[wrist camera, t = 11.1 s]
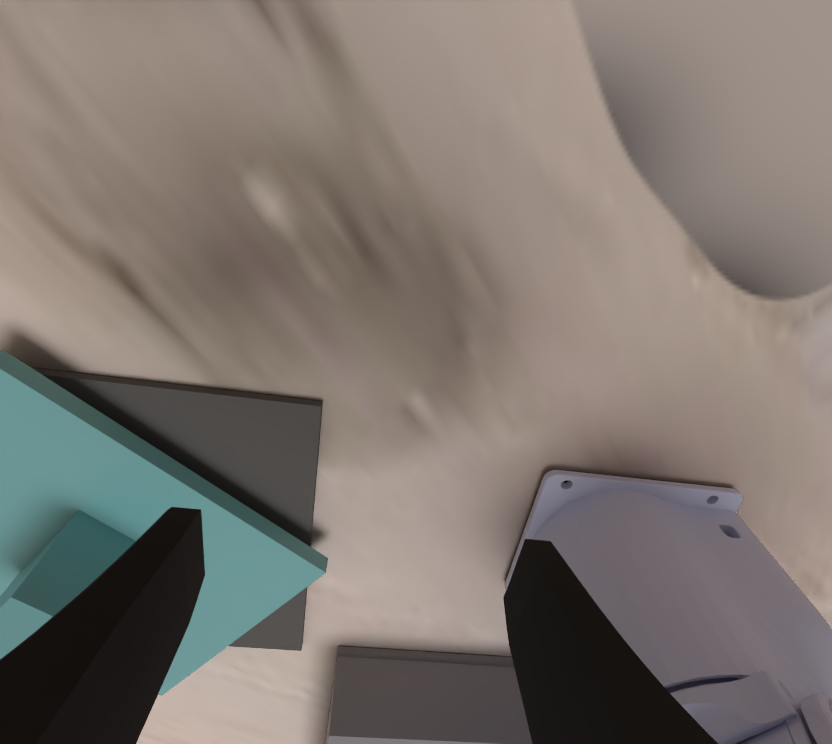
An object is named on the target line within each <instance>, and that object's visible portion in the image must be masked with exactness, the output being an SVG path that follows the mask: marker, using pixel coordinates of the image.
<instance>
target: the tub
mask: <svg viewBox="0 0 832 744" xmlns="http://www.w3.org/2000/svg"><path fill="white" fill-rule="evenodd" d="M325 744H532V740H531V735H530V731H529V727H528V723H527V719H526V714H525V710H524V706H523V702H522V698H521V694H520V689H519V685H518V681H517V677H516V672H515V668H514V664H513V659H512V657H502V656H487V655H471V654H455V653H440V652H424V651H409V650H393V649H377V648H362V647H346V646H338V653H337V660H336V667H335V674H334V681H333V689H332V696H331V703H330V710H329V717H328V725H327V732H326V739H325Z"/></svg>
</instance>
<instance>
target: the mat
mask: <svg viewBox="0 0 832 744" xmlns="http://www.w3.org/2000/svg"><path fill="white" fill-rule="evenodd" d="M32 369H34V370H35V371H37V372H39V373H40V374H42V375H43V376H45V377H46V378H48V379H49V380H51V381H53V382H54V383H56V384H57V385H59V386H60V387H62V388H63V389H65V390H67V391H68V392H70V393H71V394H73V395H74V396H76V397H77V398H79V399H81V400H82V401H84V402H85V403H87V404H88V405H90V406H91V407H93V408H95V409H96V410H98V411H99V412H101V413H102V414H104V415H105V416H107V417H109V418H110V419H112V420H113V421H115V422H116V423H118V424H120V425H121V426H123V427H124V428H126V429H127V430H129V431H130V432H132V433H134V434H135V435H137V436H138V437H140V438H141V439H143V440H144V441H146V442H148V443H149V444H151V445H152V446H154V447H155V448H157V449H158V450H160V451H162V452H163V453H165V454H166V455H168V456H169V457H171V458H172V459H174V460H176V461H177V462H179V463H180V464H182V465H183V466H185V467H187V468H188V469H190V470H191V471H193V472H194V473H196V474H197V475H199V476H201V477H202V478H204V479H205V480H207V481H208V482H210V483H211V484H213V485H215V486H216V487H218V488H219V489H221V490H222V491H224V492H225V493H227V494H229V495H230V496H232V497H233V498H235V499H236V500H238V501H239V502H241V503H243V504H244V505H246V506H247V507H249V508H250V509H252V510H253V511H255V512H257V513H258V514H260V515H261V516H263V517H264V518H266V519H268V520H269V521H271V522H272V523H274V524H275V525H277V526H278V527H280V528H282V529H283V530H285V531H286V532H288V533H289V534H291V535H292V536H294V537H296V538H297V539H299V540H300V541H302V542H303V543H305V544H306V545H308V546H310V547H311V535H312V523H313V511H314V500H315V488H316V476H317V464H318V452H319V440H320V428H321V416H322V404H323V401H316V400H308V399H299V398H290V397H282V396H273V395H264V394H256V393H247V392H239V391H230V390H221V389H213V388H204V387H195V386H187V385H178V384H169V383H161V382H152V381H144V380H135V379H126V378H118V377H109V376H100V375H92V374H83V373H74V372H66V371H57V370H49V369H40V368H32ZM306 595H307V587H306V588H305V589H303V590H302V591H301V592H299V593H298V594H297V595H295V596H294V597H293V598H291V599H290V600H289V601H287V602H286V603H285V604H283V605H282V606H281V607H279V608H278V609H277V610H275V611H274V612H273V613H271V614H270V615H269V616H267V617H266V618H265V619H263V620H262V621H261V622H259V623H258V624H257V625H255V626H254V627H253V628H251V629H250V630H249V631H247V632H246V633H245V634H243V635H242V636H241V637H239V638H238V639H237V640H235V641H234V642H233V643H231V644H230V645H229V646H234V647H250V648H266V649H282V650H298V651H301V649H302V643H303V631H304V619H305V607H306Z"/></svg>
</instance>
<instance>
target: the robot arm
mask: <svg viewBox="0 0 832 744" xmlns="http://www.w3.org/2000/svg"><path fill="white" fill-rule="evenodd" d="M566 480H569V481H568V482H567V483H562V482H564V481H566ZM742 500H743V496H742V495H741V494H740V493H739V492H738V491H737V490H736V489H732V488H723V487H714V486H704V485H695V484H685V483H676V482H667V481H657V480H648V479H639V478H629V477H620V476H610V475H601V474H592V473H582V472H573V471H563V470H551V471H549V472H547V473H546V474H545V475H544V477H543V479H542V482H541V484H540V487H539V490H538V493H537V496H536V498H535V501H534V504H533V507H532V510H531V512H530V515H529V518H528V521H527V523H526V526H525V529H524V532H523V535H522V537H521V540H520V543H519V546H518V549H517V551H516V554H515V557H514V560H513V562H512V565H511V568H510V571H509V574H508V576H507V579H506V582H505V588H506V593H505V595H504V606H505V615H506V624H507V632H508V639H509V646H510V651H511V655H512V659H513V664H514V668H515V672H516V677H517V681H518V685H519V689H520V694H521V698H522V702H523V706H524V710H525V714H526V719H527V723H528V727H529V731H530V735H531V740H532V744H832V629H831V628H830V626H829V624H828V623H827V622H826V620H825V619H824V618H823V616H822V615H821V614H820V613H819V611H818V610H817V609H816V608H815V607H814V605H813V604H812V603H811V602H810V601H809V599H808V598H807V597H806V596H805V595H804V593H803V592H802V591H801V590H800V589H799V587H798V586H797V585H796V584H795V583H794V581H793V580H792V579H791V578H790V577H789V575H788V574H787V573H786V572H785V571H784V569H783V568H782V567H781V566H780V565H779V563H778V562H777V561H776V560H775V559H774V557H773V556H772V555H771V554H770V553H769V551H768V550H767V549H766V548H765V547H764V545H763V544H762V543H761V542H760V541H759V539H758V538H757V537H756V536H755V535H754V533H753V532H752V531H751V530H750V529H749V527H748V526H747V525H746V524H745V523H744V521H743V520H742V519H741V518H740V517H739V515H738V514H737V513H736V511H737V509H738V508H739V506H740V505H741V503H742ZM204 577H205V565H204V548H203V530H202V513H201V509H191V508H180V507H171V508H169V509H168V510H167V511H166V512H165V513H164V514H163V515H162V516H161V517H160V518H159V519H158V520H157V521H156V522H155V523H154V524H153V525H152V526H151V527H150V528H149V529H148V530H147V531H146V532H145V533H144V534H143V535H142V536H141V537H140V538H139V539H138V540H137V541H136V542H135V543H134V544H132V545H131V546H130V547H129V548H128V549H127V550H126V551H125V552H124V553H123V554H122V555H121V556H120V557H119V558H118V559H117V560H116V561H115V562H114V563H113V564H112V565H110V566H109V567H108V568H107V569H106V570H105V571H104V572H103V573H102V574H101V575H100V576H98V577H97V578H96V579H95V580H94V581H93V582H92V583H91V584H90V585H89V586H88V587H87V588H85V589H84V590H83V591H82V592H81V593H80V594H79V595H78V596H76V597H75V598H74V599H73V600H72V601H71V602H69V603H68V604H67V605H66V606H65V607H64V608H62V609H61V610H60V611H59V612H58V613H57V614H55V615H54V616H53V617H52V618H51V619H49V620H48V621H47V622H46V623H45V624H44V625H42V626H41V627H40V628H39V629H38V630H37V631H35V632H34V633H33V634H32V635H30V636H29V637H28V638H27V639H25V640H24V641H23V642H22V643H20V644H19V645H18V646H17V647H15V648H14V649H13V650H12V651H10V652H9V653H8V654H7V655H5V656H4V657H3V658H1V659H0V744H136V742H137V740H138V738H139V735H140V733H141V731H142V729H143V726H144V724H145V722H146V720H147V718H148V715H149V713H150V711H151V709H152V706H153V704H154V702H155V700H156V698H157V695H158V693H159V691H160V689H161V686H162V684H163V682H164V680H165V677H166V675H167V673H168V671H169V669H170V666H171V664H172V662H173V660H174V657H175V655H176V653H177V651H178V648H179V646H180V644H181V642H182V639H183V637H184V635H185V632H186V630H187V628H188V625H189V623H190V620H191V617H192V614H193V611H194V608H195V605H196V602H197V599H198V596H199V593H200V589H201V586H202V583H203V580H204Z"/></svg>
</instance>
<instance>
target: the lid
mask: <svg viewBox="0 0 832 744" xmlns="http://www.w3.org/2000/svg"><path fill="white" fill-rule="evenodd" d="M171 507H180V508H191V509H201V513H202V530H203V548H204V565H205V577H204V580H203V583H202V586H201V589H200V593H199V596H198V599H197V602H196V605H195V608H194V611H193V614H192V617H191V620H190V623H189V625H188V628H187V630H186V632H185V635H184V637H183V639H182V642H181V644H180V646H179V648H178V651H177V653H176V655H175V657H174V660H173V662H172V664H171V666H170V669H169V671H168V673H167V675H166V677H165V680H164V682H163V684H162V686H161V689H160V691H159V693H158V694H159V695H161V696H162V695H163V694H164V693H166V692H167V691H168V690H170V689H171V688H172V687H174V686H175V685H177V684H178V683H179V682H181V681H182V680H183V679H185V678H186V677H187V676H189V675H190V674H191V673H193V672H194V671H195V670H197V669H198V668H199V667H201V666H202V665H203V664H205V663H206V662H207V661H209V660H210V659H211V658H213V657H214V656H215V655H217V654H218V653H219V652H221V651H222V650H223V649H225V648H226V647H227V646H229V645H230V644H231V643H233V642H234V641H235V640H237V639H238V638H239V637H241V636H242V635H243V634H245V633H246V632H247V631H249V630H250V629H251V628H253V627H254V626H255V625H257V624H258V623H259V622H261V621H262V620H263V619H265V618H266V617H267V616H269V615H270V614H271V613H273V612H274V611H275V610H277V609H278V608H279V607H281V606H282V605H283V604H285V603H286V602H287V601H289V600H290V599H291V598H293V597H294V596H295V595H297V594H298V593H299V592H301V591H302V590H303V589H305V588H306V587H307V586H309V585H310V584H311V583H313V582H314V581H315V580H317V579H318V578H319V577H321V576H322V575H323V574H325V573H326V568H327V561H328V558H327V557H325V556H324V555H322V554H320V553H319V552H317V551H316V550H314V549H313V548H311V547H310V546H308V545H306V544H305V543H303V542H302V541H300V540H299V539H297V538H296V537H294V536H292V535H291V534H289V533H288V532H286V531H285V530H283V529H282V528H280V527H278V526H277V525H275V524H274V523H272V522H271V521H269V520H268V519H266V518H264V517H263V516H261V515H260V514H258V513H257V512H255V511H253V510H252V509H250V508H249V507H247V506H246V505H244V504H243V503H241V502H239V501H238V500H236V499H235V498H233V497H232V496H230V495H229V494H227V493H225V492H224V491H222V490H221V489H219V488H218V487H216V486H215V485H213V484H211V483H210V482H208V481H207V480H205V479H204V478H202V477H201V476H199V475H197V474H196V473H194V472H193V471H191V470H190V469H188V468H187V467H185V466H183V465H182V464H180V463H179V462H177V461H176V460H174V459H172V458H171V457H169V456H168V455H166V454H165V453H163V452H162V451H160V450H158V449H157V448H155V447H154V446H152V445H151V444H149V443H148V442H146V441H144V440H143V439H141V438H140V437H138V436H137V435H135V434H134V433H132V432H130V431H129V430H127V429H126V428H124V427H123V426H121V425H120V424H118V423H116V422H115V421H113V420H112V419H110V418H109V417H107V416H105V415H104V414H102V413H101V412H99V411H98V410H96V409H95V408H93V407H91V406H90V405H88V404H87V403H85V402H84V401H82V400H81V399H79V398H77V397H76V396H74V395H73V394H71V393H70V392H68V391H67V390H65V389H63V388H62V387H60V386H59V385H57V384H56V383H54V382H53V381H51V380H49V379H48V378H46V377H45V376H43V375H42V374H40V373H39V372H37V371H35V370H34V369H32V368H31V367H29V366H28V365H26V364H24V363H23V362H21V361H20V360H18V359H17V358H15V357H14V356H12V355H10V354H9V353H7V352H6V351H4V350H1V351H0V659H1V658H3V657H4V656H5V655H7V654H8V653H9V652H10V651H12V650H13V649H14V648H15V647H17V646H18V645H19V644H20V643H22V642H23V641H24V640H25V639H27V638H28V637H29V636H30V635H32V634H33V633H34V632H35V631H37V630H38V629H39V628H40V627H41V626H42V625H44V624H45V623H46V622H47V621H48V620H49V619H51V618H52V617H53V616H54V615H55V614H57V613H58V612H59V611H60V610H61V609H62V608H64V607H65V606H66V605H67V604H68V603H69V602H71V601H72V600H73V599H74V598H75V597H76V596H78V595H79V594H80V593H81V592H82V591H83V590H84V589H85V588H87V587H88V586H89V585H90V584H91V583H92V582H93V581H94V580H95V579H96V578H97V577H98V576H100V575H101V574H102V573H103V572H104V571H105V570H106V569H107V568H108V567H109V566H110V565H112V564H113V563H114V562H115V561H116V560H117V559H118V558H119V557H120V556H121V555H122V554H123V553H124V552H125V551H126V550H127V549H128V548H129V547H130V546H131V545H132V544H134V543H135V542H136V541H137V540H138V539H139V538H140V537H141V536H142V535H143V534H144V533H145V532H146V531H147V530H148V529H149V528H150V527H151V526H152V525H153V524H154V523H155V522H156V521H157V520H158V519H159V518H160V517H161V516H162V515H163V514H164V513H165V512H166V511H167V510H168V509H169V508H171Z"/></svg>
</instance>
